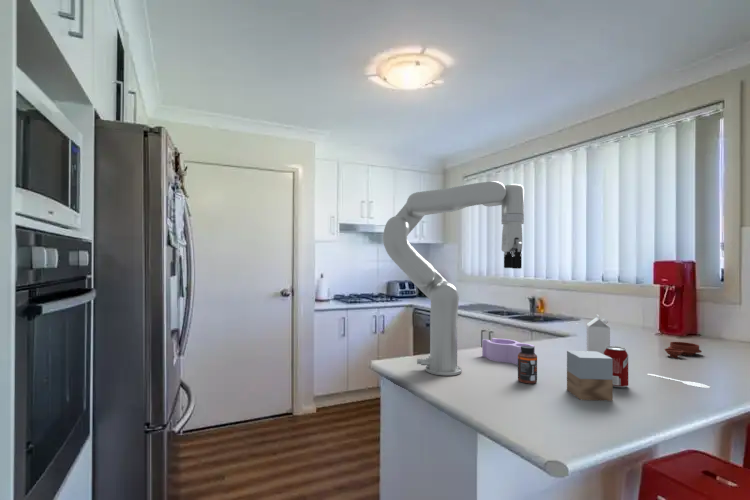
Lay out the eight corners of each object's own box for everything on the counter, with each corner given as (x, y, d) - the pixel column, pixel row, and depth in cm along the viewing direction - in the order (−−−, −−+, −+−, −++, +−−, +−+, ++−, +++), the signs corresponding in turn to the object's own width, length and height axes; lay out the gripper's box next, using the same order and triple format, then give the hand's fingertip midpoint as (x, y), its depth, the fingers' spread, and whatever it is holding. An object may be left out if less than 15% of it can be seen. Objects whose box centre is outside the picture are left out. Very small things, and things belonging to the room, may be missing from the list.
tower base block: (580, 400, 116) (580, 379, 116) (566, 390, 125) (566, 370, 125) (612, 401, 116) (612, 379, 116) (597, 391, 125) (597, 371, 125)
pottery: (706, 355, 176) (706, 345, 176) (687, 361, 164) (687, 350, 165) (674, 350, 185) (674, 340, 185) (654, 355, 174) (654, 345, 174)
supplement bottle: (538, 385, 130) (538, 349, 130) (519, 383, 131) (519, 348, 131) (535, 379, 135) (535, 345, 136) (516, 378, 137) (516, 344, 137)
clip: (540, 362, 159) (540, 344, 159) (522, 367, 151) (522, 348, 151) (496, 353, 175) (496, 337, 175) (478, 357, 167) (478, 340, 167)
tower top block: (579, 378, 116) (579, 357, 117) (566, 370, 125) (566, 350, 126) (612, 379, 116) (612, 358, 116) (597, 371, 125) (597, 351, 125)
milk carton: (588, 366, 153) (588, 315, 154) (586, 362, 160) (586, 313, 160) (610, 368, 151) (610, 317, 151) (607, 364, 157) (607, 314, 158)
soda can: (620, 390, 125) (619, 350, 125) (599, 384, 131) (599, 346, 131) (633, 387, 128) (632, 348, 129) (612, 381, 134) (611, 344, 135)
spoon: (651, 373, 145) (651, 372, 146) (713, 387, 130) (713, 385, 130) (643, 375, 143) (643, 374, 143) (706, 390, 127) (706, 388, 127)
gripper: (495, 222, 153) (495, 267, 153) (508, 217, 136) (508, 268, 136) (516, 222, 153) (516, 267, 153) (531, 217, 136) (531, 268, 135)
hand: (512, 268), depth 144 cm, fingers open, 9 cm apart
